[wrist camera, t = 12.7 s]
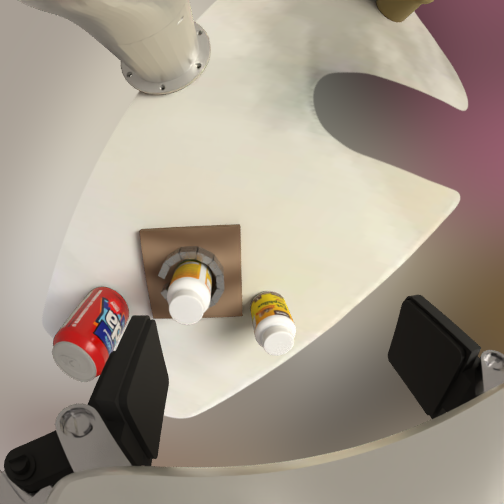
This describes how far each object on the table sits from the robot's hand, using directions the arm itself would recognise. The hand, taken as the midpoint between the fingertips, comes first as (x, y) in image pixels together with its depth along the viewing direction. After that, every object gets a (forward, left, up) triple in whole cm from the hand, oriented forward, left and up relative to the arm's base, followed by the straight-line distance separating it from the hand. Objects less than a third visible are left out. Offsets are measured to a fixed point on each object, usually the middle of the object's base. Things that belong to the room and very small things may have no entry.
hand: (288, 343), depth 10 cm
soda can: (+15, -22, -31) cm, 41 cm away
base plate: (+10, -7, -30) cm, 33 cm away
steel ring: (+10, -7, -29) cm, 32 cm away
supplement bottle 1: (+10, -7, -29) cm, 32 cm away
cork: (-36, +26, -31) cm, 54 cm away
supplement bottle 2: (+16, +4, -31) cm, 35 cm away
